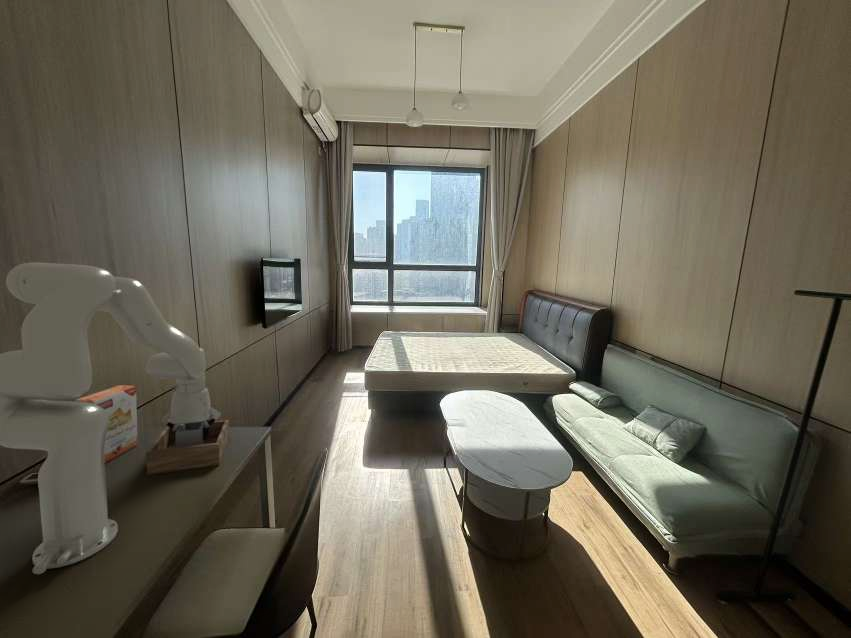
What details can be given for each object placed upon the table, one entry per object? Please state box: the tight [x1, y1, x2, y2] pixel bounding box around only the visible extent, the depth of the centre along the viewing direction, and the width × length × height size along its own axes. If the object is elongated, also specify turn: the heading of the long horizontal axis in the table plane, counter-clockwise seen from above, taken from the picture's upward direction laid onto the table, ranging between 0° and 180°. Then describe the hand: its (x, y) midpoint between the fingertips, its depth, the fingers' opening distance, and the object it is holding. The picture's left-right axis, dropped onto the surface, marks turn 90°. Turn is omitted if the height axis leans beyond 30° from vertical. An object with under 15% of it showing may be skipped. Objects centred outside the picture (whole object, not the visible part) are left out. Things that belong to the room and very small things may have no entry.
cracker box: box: [74, 384, 138, 464], centre depth 102 cm, size 14×6×21 cm, turn 179°
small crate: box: [175, 422, 205, 447], centre depth 106 cm, size 9×7×6 cm
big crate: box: [145, 419, 230, 476], centre depth 106 cm, size 18×18×7 cm
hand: (192, 439), depth 106 cm, fingers closed on small crate, 6 cm apart
